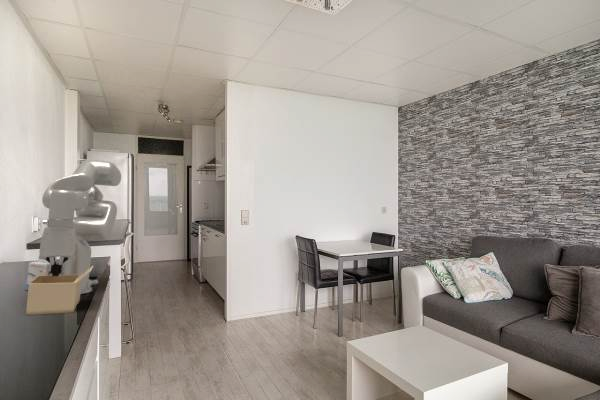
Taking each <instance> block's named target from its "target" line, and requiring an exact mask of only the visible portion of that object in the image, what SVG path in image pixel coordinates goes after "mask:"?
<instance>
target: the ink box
mask: <svg viewBox="0 0 600 400" xmlns="http://www.w3.org/2000/svg"><path fill="white" fill-rule="evenodd" d="M55 260H56V261H57V257H55ZM49 266H51V264H50V263H49V262H48V261H47V260H42V259H39V258H38V261H31V262H28V270H27V278H26V285H25V286H26V289H29V284H30V283H29V281H31V280H32V279H33V278H35V277H36V276H37V275H39V274H40V273H41V272H43V271H44V270H45V269H47V268H48V267H49ZM41 275H52V274H51V267H50V268H49V269H48V270H47V271H45V272H44V273H43V274H41ZM37 278H38V277H37ZM33 281H34V280H33ZM26 289H25V290H26Z"/></svg>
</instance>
